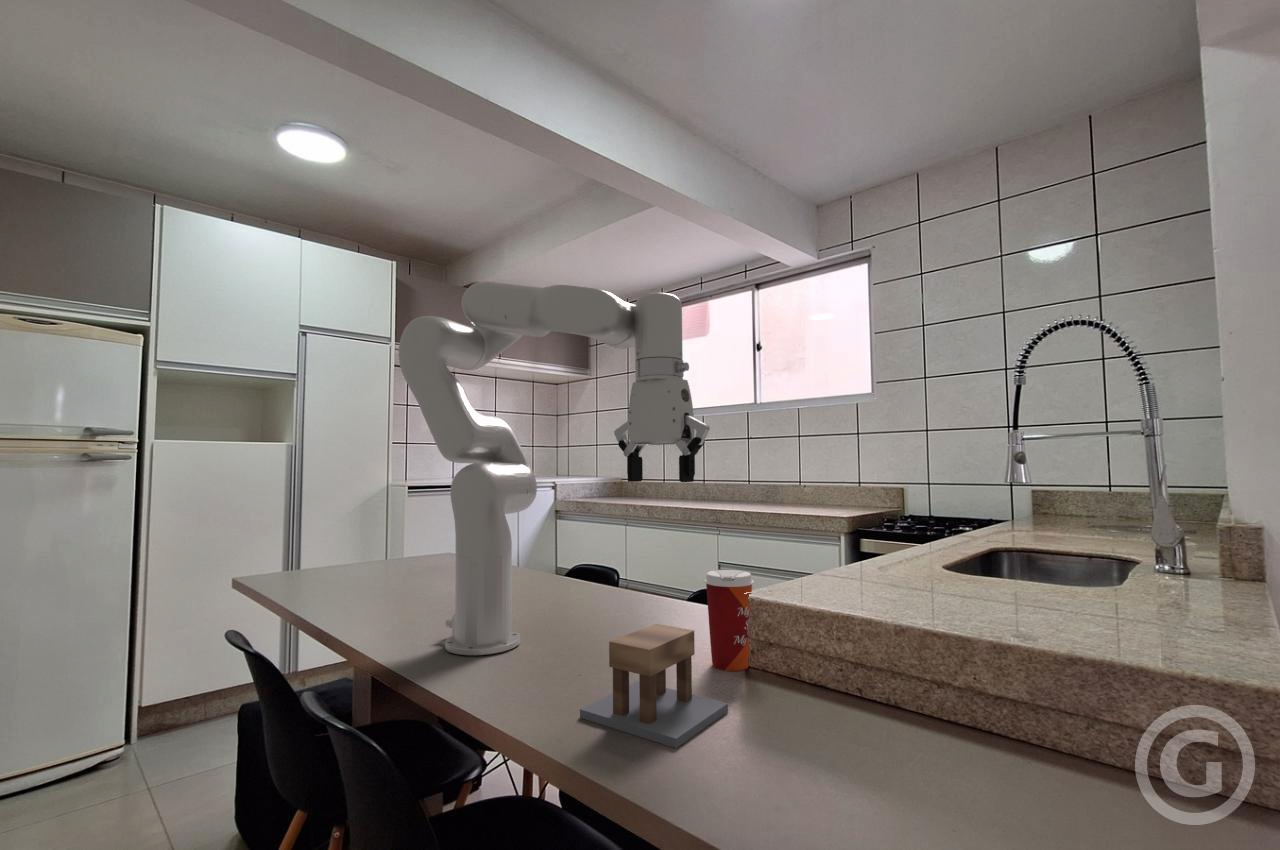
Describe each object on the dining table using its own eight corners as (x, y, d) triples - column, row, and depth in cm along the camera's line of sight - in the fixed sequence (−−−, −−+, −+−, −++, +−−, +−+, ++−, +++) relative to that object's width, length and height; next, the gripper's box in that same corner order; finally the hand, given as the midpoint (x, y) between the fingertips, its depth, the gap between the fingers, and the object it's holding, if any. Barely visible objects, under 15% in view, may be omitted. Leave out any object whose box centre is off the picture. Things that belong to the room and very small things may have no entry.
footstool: (656, 688, 80) (655, 623, 81) (695, 698, 77) (694, 630, 77) (609, 713, 72) (609, 641, 73) (650, 726, 69) (649, 649, 69)
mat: (579, 717, 74) (579, 709, 74) (637, 688, 83) (637, 680, 83) (676, 748, 65) (676, 738, 65) (728, 711, 75) (727, 703, 75)
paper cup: (755, 675, 88) (753, 578, 89) (703, 672, 90) (701, 576, 91) (756, 658, 96) (754, 569, 97) (707, 656, 97) (706, 568, 98)
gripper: (718, 370, 93) (720, 481, 92) (629, 380, 103) (630, 480, 102) (693, 364, 87) (695, 482, 86) (601, 375, 97) (602, 481, 96)
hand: (660, 481), depth 94 cm, fingers open, 9 cm apart
